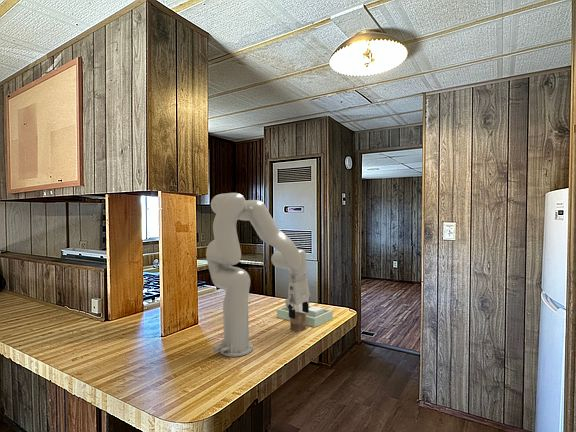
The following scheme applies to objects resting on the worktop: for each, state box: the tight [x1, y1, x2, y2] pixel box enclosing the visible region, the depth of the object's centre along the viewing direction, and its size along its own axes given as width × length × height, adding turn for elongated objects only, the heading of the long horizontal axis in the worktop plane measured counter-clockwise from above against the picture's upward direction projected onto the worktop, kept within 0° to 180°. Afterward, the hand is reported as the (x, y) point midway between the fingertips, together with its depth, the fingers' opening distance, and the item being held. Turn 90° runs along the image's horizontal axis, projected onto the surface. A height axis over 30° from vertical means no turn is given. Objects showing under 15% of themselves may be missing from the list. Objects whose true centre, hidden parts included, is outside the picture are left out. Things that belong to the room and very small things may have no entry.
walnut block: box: [289, 311, 307, 333], centre depth 149 cm, size 5×5×7 cm
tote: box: [276, 305, 334, 328], centre depth 164 cm, size 15×23×4 cm, turn 50°
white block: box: [305, 305, 325, 317], centre depth 159 cm, size 7×6×6 cm
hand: (299, 315), depth 149 cm, fingers open, 9 cm apart
